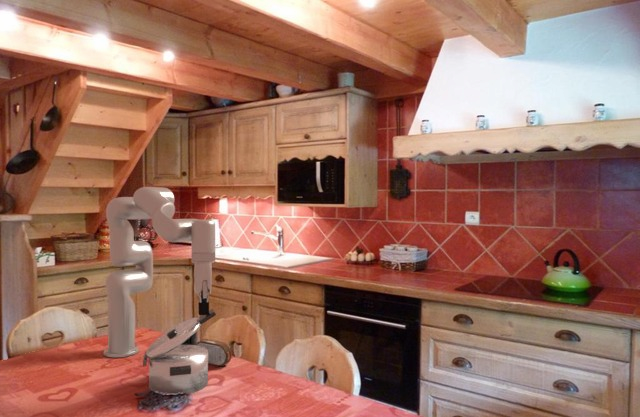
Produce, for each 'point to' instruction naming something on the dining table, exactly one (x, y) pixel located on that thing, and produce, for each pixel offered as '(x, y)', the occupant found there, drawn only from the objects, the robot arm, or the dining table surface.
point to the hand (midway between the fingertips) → (203, 314)
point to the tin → (216, 352)
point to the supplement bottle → (191, 340)
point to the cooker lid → (176, 336)
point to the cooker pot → (179, 370)
